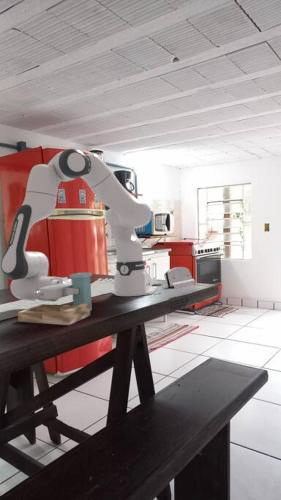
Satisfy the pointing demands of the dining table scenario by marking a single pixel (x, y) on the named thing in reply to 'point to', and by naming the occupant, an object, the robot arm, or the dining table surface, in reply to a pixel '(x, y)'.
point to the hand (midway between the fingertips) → (83, 289)
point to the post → (82, 288)
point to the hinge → (178, 277)
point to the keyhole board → (55, 314)
